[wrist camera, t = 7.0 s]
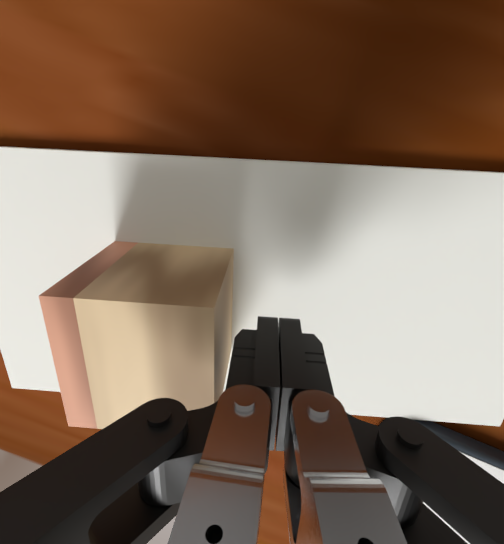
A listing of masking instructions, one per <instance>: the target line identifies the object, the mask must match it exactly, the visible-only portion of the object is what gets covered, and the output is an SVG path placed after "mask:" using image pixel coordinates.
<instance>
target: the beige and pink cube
mask: <svg viewBox="0 0 504 544" xmlns="http://www.w3.org/2000/svg"><path fill="white" fill-rule="evenodd" d="M233 260H234V249H233V248H217V247H201V246H185V245H169V244H153V243H137V242H121V241H114V242H113V243H112V244H110V245H109V246H107V247H106V248H105V249H103V250H102V251H100V252H99V253H98V254H96V255H95V256H93V257H92V258H91V259H89V260H88V261H86V262H85V263H84V264H82V265H81V266H79V267H78V268H77V269H75V270H74V271H72V272H71V273H70V274H68V275H67V276H65V277H64V278H63V279H61V280H60V281H58V282H57V283H56V284H54V285H53V286H52V287H50V288H49V289H47V290H46V291H45V292H43V293H42V294H40V295H39V300H40V304H41V309H42V313H43V317H44V322H45V326H46V330H47V335H48V339H49V343H50V348H51V352H52V356H53V361H54V365H55V369H56V374H57V378H58V382H59V387H60V391H61V396H62V400H63V404H64V409H65V413H66V417H67V422H68V426H73V427H85V428H97V429H103V428H105V427H107V426H108V425H110V424H112V423H113V422H115V421H116V420H118V419H120V418H121V417H123V416H125V415H126V414H128V413H129V412H131V411H133V410H134V409H136V408H137V407H139V406H141V405H142V404H144V403H146V402H148V401H150V400H153V399H157V398H171V399H175V400H177V401H179V402H181V403H182V404H183V405H184V406H185V408H186V409H187V411H189V410H195V409H200V408H204V407H207V406H210V405H212V404H213V403H215V402H216V401H218V400H219V397H220V396H221V394H222V393H223V389H224V384H225V379H226V374H227V368H228V363H229V358H230V353H231V339H232V300H233Z"/></svg>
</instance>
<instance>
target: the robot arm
mask: <svg viewBox="0 0 504 544" xmlns="http://www.w3.org/2000/svg"><path fill="white" fill-rule="evenodd" d="M324 354H325V353H324V349H323V345H322V342H321V341H320V340H319V339H318V338H317V337H316V336H315V334H307V333H302V330H301V323H300V319H293V318H279V323H278V318H277V317H263V316H258V321H257V330H249V329H242V330H241V331H240V332H239V333H238V334H237V335H236V336H235V338H234V344H233V350H232V356H231V361H230V367H229V373H228V378H227V384H226V389H225V391H224V392H223V393H222V394H221V396H220V397H219V400H218V401H216V402H215V403H213V404H212V405H210V406H207V407H204V408H200V409H195V410H189V411H187V409H186V408H185V406H184V405H183V404H182V403H181V402H179V401H177V400H175V399H171V398H157V399H153V400H150V401H148V402H146V403H144V404H142V405H141V406H139V407H137V408H136V409H134V410H133V411H131V412H129V413H128V414H126V415H125V416H123V417H121V418H120V419H118V420H116V421H115V422H113V423H112V424H110V425H108V426H107V427H105V428H103V429H102V430H100V431H99V432H97V433H95V434H94V435H92V436H91V437H89V438H87V439H86V440H84V441H82V442H81V443H79V444H78V445H76V446H74V447H73V448H71V449H69V450H68V451H66V452H65V453H63V454H61V455H60V456H58V457H57V458H55V459H53V460H52V461H50V462H48V463H47V464H45V465H44V466H42V467H40V468H39V469H37V470H36V471H34V472H32V473H31V474H29V475H27V476H26V477H24V478H23V479H21V480H19V481H18V482H16V483H14V484H13V485H11V486H10V487H8V488H6V489H5V490H3V491H2V492H0V544H147V543H148V542H149V541H150V540H151V539H152V538H153V537H154V536H155V535H156V534H157V533H158V532H159V531H160V530H161V529H162V528H163V527H164V526H165V525H166V524H168V523H169V522H170V521H171V520H172V519H173V518H174V517H175V516H176V515H177V516H176V519H175V522H174V525H173V528H172V532H171V535H170V538H169V541H168V544H257V543H258V534H259V524H260V514H261V504H262V494H263V484H264V474H265V472H266V470H267V466H268V456H269V450H274V443H275V433H276V451H284V459H285V464H284V472H283V483H284V492H285V501H286V510H287V519H288V528H289V537H290V544H468V543H466V542H465V541H464V540H463V539H462V538H461V537H460V536H459V535H458V534H456V533H455V532H454V531H453V530H452V529H451V528H450V527H449V526H448V525H447V524H445V523H444V522H443V521H442V520H441V519H440V518H439V517H438V516H437V515H435V514H434V513H433V512H432V511H431V510H430V509H429V508H428V507H427V506H426V505H424V504H423V502H424V503H426V504H427V505H428V506H429V507H430V508H431V509H432V510H433V511H434V512H436V513H437V514H438V515H439V516H440V517H441V518H442V519H443V520H444V521H446V522H447V523H448V524H449V525H450V526H451V527H452V528H453V529H454V530H456V531H457V532H458V533H459V534H460V535H461V536H462V537H463V538H464V539H466V540H467V541H468V542H469V543H470V544H504V484H503V483H502V482H501V481H499V480H498V479H496V478H495V477H494V476H492V475H491V474H490V473H488V472H487V471H485V470H484V469H483V468H481V467H480V466H478V465H477V464H476V463H474V462H473V461H472V460H470V459H469V458H467V457H466V456H465V455H463V454H462V453H461V452H459V451H458V450H456V449H455V448H454V447H452V446H451V445H449V444H448V443H447V442H445V441H444V440H443V439H441V438H440V437H438V436H437V435H436V434H434V433H433V432H432V431H430V430H429V429H427V428H426V427H425V426H423V425H422V424H420V423H418V422H416V421H414V420H411V419H409V418H405V417H389V418H387V419H385V420H383V421H382V422H381V424H380V426H376V425H373V424H370V423H367V422H364V421H361V420H359V419H356V418H354V417H352V416H351V415H349V414H348V413H347V412H345V409H344V407H343V405H342V404H341V402H340V401H339V400H338V399H337V398H336V397H335V396H334V392H333V387H332V383H331V379H330V375H329V370H328V366H327V364H326V358H325V355H324Z"/></svg>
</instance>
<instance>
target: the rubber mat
mask: <svg viewBox="0 0 504 544" xmlns="http://www.w3.org/2000/svg"><path fill="white" fill-rule="evenodd" d="M114 241H121V242H137V243H153V244H169V245H185V246H201V247H217V248H233V249H234V260H233V300H232V339H231V353H230V358H229V363H228V368H227V374H226V379H225V384H224V389H223V392H224V391H225V389H226V384H227V378H228V373H229V367H230V361H231V356H232V350H233V344H234V338H235V336H236V335H237V334H238V333H239V332H240V331H241V330H242V329H249V330H257V321H258V316H263V317H277V318H278V323H279V318H293V319H300V323H301V330H302V333H307V334H315V336H316V337H317V338H318V339H319V340H320V341H321V342H322V345H323V349H324V353H325V354H324V355H325V358H326V364H327V366H328V370H329V375H330V379H331V383H332V387H333V392H334V396H335V397H336V398H337V399H338V400H339V401H340V402H341V404H342V405H343V407H344V409H345V412H347V413H348V414H349V415H362V416H375V417H388V418H389V417H405V418H409V419H413V420H426V421H438V422H451V423H464V424H476V425H489V426H500V425H501V423H502V421H503V419H504V172H489V171H470V170H451V169H431V168H412V167H393V166H373V165H354V164H335V163H315V162H296V161H277V160H257V159H238V158H219V157H199V156H180V155H161V154H141V153H122V152H103V151H83V150H64V149H45V148H25V147H6V146H0V349H1V353H2V356H3V359H4V363H5V366H6V369H7V372H8V376H9V379H10V382H11V386H12V388H20V389H32V390H45V391H58V392H61V391H60V387H59V382H58V378H57V374H56V369H55V365H54V361H53V356H52V352H51V348H50V343H49V339H48V335H47V330H46V326H45V322H44V317H43V313H42V309H41V304H40V300H39V295H40V294H42V293H43V292H45V291H46V290H47V289H49V288H50V287H52V286H53V285H54V284H56V283H57V282H58V281H60V280H61V279H63V278H64V277H65V276H67V275H68V274H70V273H71V272H72V271H74V270H75V269H77V268H78V267H79V266H81V265H82V264H84V263H85V262H86V261H88V260H89V259H91V258H92V257H93V256H95V255H96V254H98V253H99V252H100V251H102V250H103V249H105V248H106V247H107V246H109V245H110V244H112V243H113V242H114Z"/></svg>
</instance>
